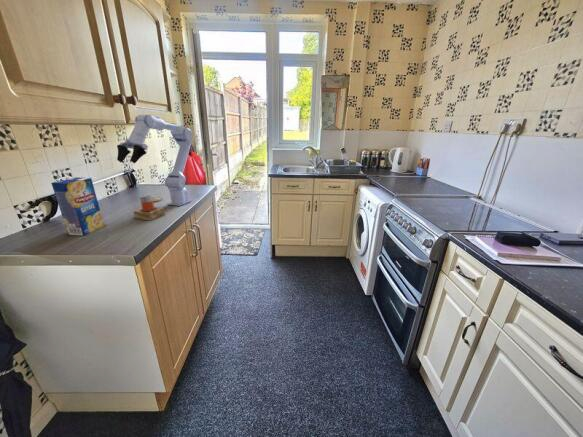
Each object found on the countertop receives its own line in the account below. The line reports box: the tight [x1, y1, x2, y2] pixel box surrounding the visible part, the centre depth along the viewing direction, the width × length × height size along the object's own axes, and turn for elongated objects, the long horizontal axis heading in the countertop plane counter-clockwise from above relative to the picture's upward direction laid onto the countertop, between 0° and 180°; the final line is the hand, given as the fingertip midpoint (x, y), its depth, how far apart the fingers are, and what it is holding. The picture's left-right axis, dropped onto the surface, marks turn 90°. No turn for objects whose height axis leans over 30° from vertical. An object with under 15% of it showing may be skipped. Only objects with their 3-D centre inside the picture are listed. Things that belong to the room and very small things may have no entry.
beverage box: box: [50, 176, 105, 236], centre depth 103 cm, size 7×11×22 cm, turn 176°
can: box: [139, 193, 155, 212], centre depth 122 cm, size 5×5×11 cm
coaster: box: [152, 197, 162, 203], centre depth 150 cm, size 9×9×1 cm
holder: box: [133, 206, 165, 221], centre depth 124 cm, size 9×9×4 cm
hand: (126, 161), depth 110 cm, fingers open, 7 cm apart
